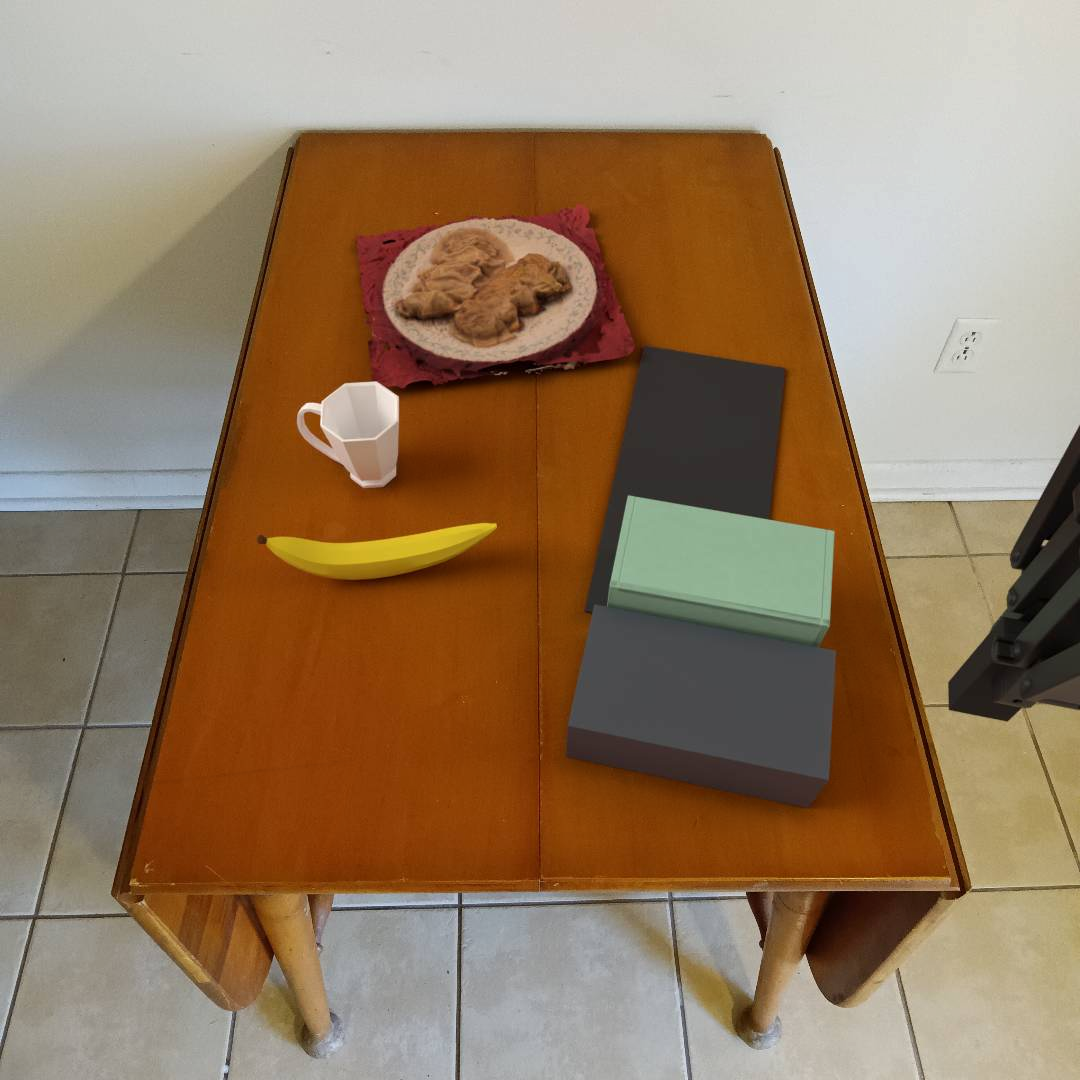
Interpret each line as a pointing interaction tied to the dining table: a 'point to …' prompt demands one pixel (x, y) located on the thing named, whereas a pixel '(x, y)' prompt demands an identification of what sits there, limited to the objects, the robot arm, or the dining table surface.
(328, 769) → the dining table surface
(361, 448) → the cup
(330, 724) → the dining table surface
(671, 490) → the mat
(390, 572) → the banana
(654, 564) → the open box
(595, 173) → the dining table surface
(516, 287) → the plate with food
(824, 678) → the block
